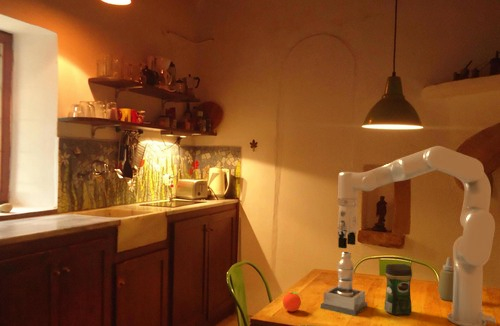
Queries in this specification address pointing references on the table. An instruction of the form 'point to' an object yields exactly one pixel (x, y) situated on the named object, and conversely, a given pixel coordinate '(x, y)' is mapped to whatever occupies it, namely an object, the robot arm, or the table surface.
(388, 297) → the coffee jar
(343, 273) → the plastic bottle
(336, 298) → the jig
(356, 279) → the table surface
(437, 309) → the table surface
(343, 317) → the table surface
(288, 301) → the clementine
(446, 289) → the squeeze bottle
